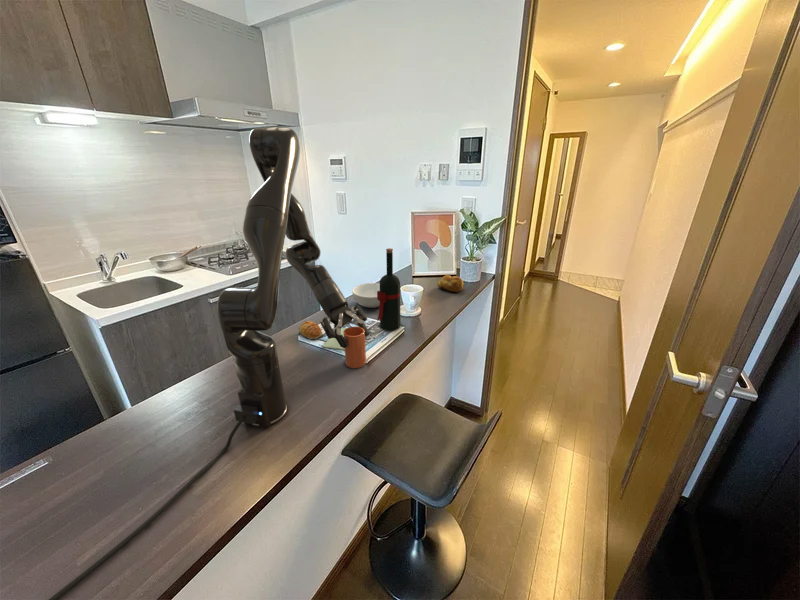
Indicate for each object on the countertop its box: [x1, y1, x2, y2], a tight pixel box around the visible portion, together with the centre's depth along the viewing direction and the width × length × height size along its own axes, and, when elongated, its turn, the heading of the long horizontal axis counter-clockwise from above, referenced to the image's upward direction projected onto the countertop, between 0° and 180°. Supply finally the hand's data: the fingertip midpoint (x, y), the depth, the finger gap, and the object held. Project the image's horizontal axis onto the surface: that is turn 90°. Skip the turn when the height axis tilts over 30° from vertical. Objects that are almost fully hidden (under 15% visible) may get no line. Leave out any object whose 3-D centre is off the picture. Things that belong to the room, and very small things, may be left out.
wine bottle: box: [377, 247, 401, 332], centre depth 117 cm, size 8×10×30 cm
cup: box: [343, 326, 367, 369], centre depth 99 cm, size 6×6×11 cm
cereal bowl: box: [352, 282, 380, 309], centre depth 141 cm, size 17×17×7 cm
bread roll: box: [437, 274, 464, 293], centre depth 158 cm, size 13×10×8 cm
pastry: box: [298, 320, 323, 340], centre depth 117 cm, size 9×7×4 cm
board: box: [322, 327, 348, 351], centre depth 115 cm, size 14×12×1 cm
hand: (356, 341), depth 98 cm, fingers open, 8 cm apart
